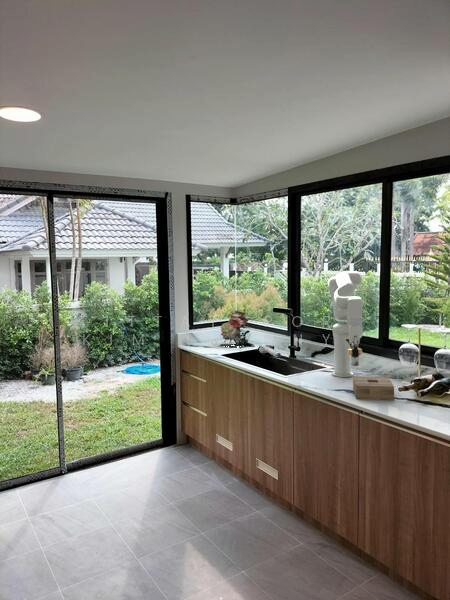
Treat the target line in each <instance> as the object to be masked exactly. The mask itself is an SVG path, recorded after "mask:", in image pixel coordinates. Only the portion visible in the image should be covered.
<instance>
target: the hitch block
mask: <svg viewBox="0 0 450 600" xmlns="http://www.w3.org/2000/svg"><path fill="white" fill-rule="evenodd" d="M352 385H353V386H352V390H353V393H354V396H355V400H366V401H367V400H369V401H370V400H372V401H373V400H374V401H376V400H377V401H395V386H394V384H393V381H392V380H391V379H390V377H389V376H369V375H367V376H364V375H363V376H362V375H360V376H358V375H356V376H355V375H353V376H352Z"/></svg>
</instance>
